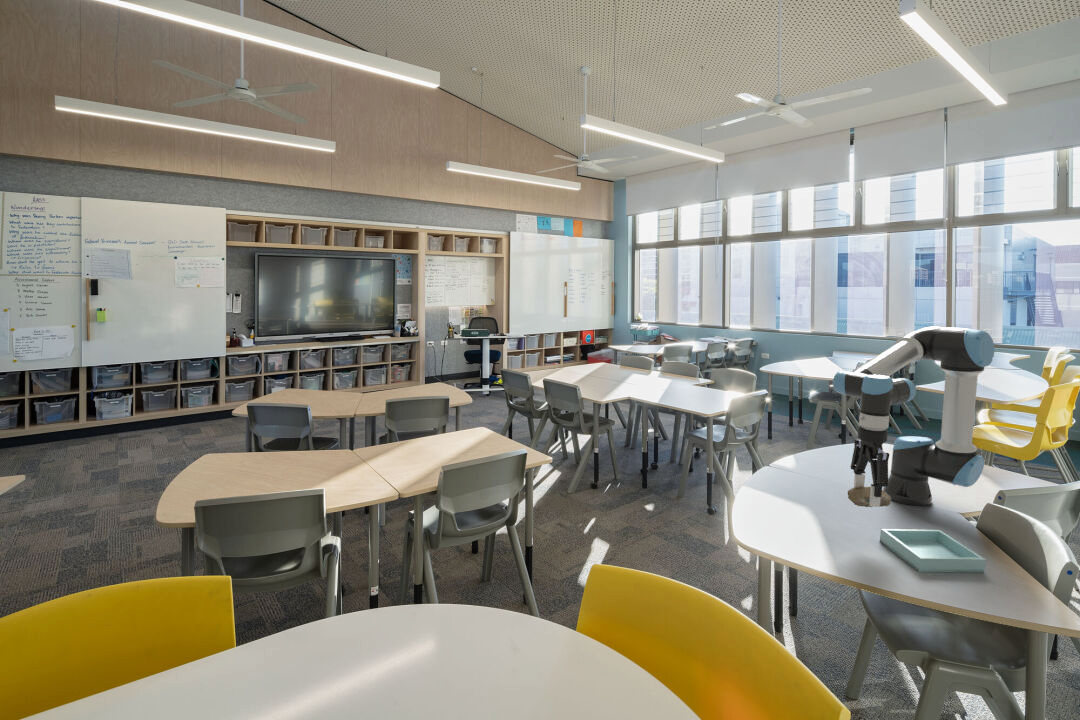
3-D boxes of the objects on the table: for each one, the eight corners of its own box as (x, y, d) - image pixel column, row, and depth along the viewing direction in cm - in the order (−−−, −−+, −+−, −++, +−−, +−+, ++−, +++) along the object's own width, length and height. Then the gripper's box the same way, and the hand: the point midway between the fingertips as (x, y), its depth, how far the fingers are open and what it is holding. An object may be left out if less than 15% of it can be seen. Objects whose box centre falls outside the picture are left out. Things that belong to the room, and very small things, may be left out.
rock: (842, 498, 170) (843, 485, 169) (876, 496, 171) (877, 483, 170) (858, 509, 162) (860, 495, 162) (894, 507, 163) (895, 493, 163)
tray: (938, 542, 170) (939, 529, 170) (984, 572, 153) (985, 559, 152) (879, 541, 170) (881, 528, 170) (918, 571, 153) (920, 558, 152)
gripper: (841, 418, 173) (835, 487, 177) (881, 437, 153) (873, 515, 156) (865, 418, 173) (859, 487, 177) (908, 437, 153) (900, 515, 156)
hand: (866, 500), depth 167 cm, fingers closed on rock, 8 cm apart
